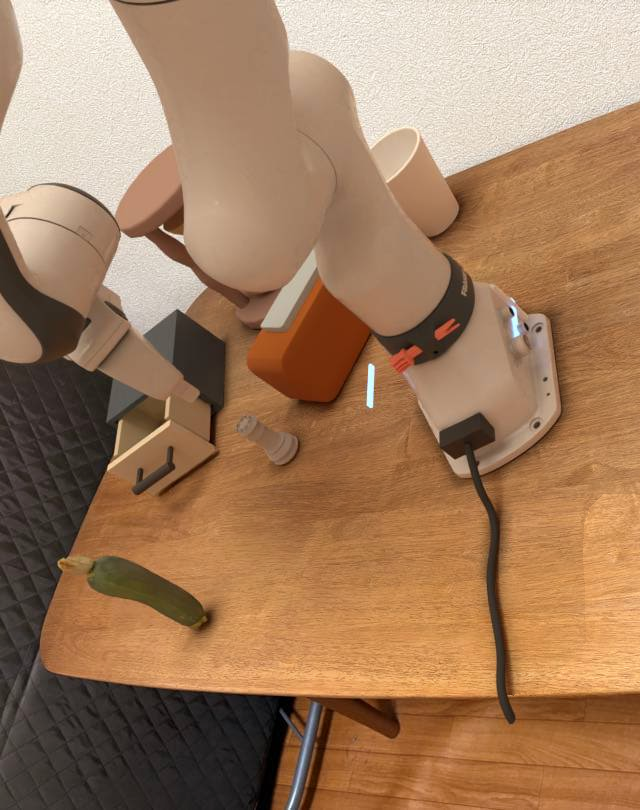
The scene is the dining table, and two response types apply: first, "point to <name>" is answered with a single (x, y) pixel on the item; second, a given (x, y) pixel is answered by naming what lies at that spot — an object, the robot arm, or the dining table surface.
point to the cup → (415, 180)
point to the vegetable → (137, 587)
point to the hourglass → (178, 230)
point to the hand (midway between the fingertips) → (183, 385)
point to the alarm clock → (307, 339)
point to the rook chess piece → (268, 439)
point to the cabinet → (179, 363)
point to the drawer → (161, 442)
